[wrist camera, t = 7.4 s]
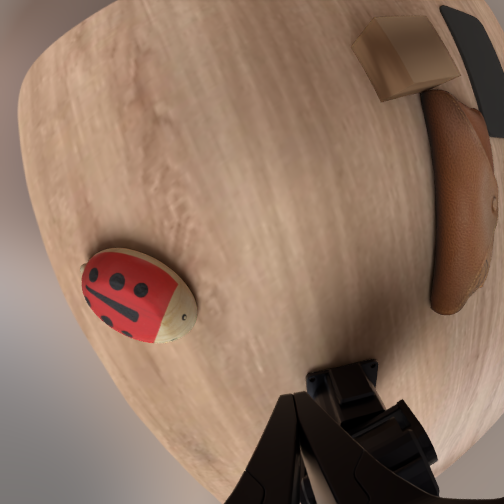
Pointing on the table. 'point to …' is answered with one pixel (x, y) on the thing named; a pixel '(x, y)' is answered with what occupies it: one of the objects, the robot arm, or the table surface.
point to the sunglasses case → (460, 199)
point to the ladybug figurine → (138, 295)
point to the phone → (479, 66)
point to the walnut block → (403, 56)
